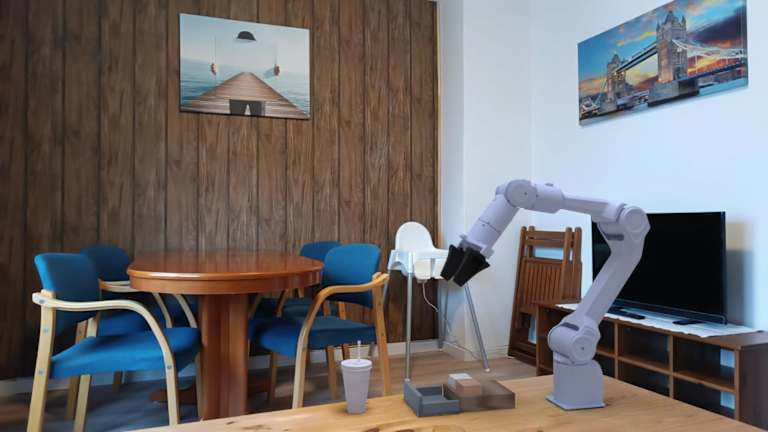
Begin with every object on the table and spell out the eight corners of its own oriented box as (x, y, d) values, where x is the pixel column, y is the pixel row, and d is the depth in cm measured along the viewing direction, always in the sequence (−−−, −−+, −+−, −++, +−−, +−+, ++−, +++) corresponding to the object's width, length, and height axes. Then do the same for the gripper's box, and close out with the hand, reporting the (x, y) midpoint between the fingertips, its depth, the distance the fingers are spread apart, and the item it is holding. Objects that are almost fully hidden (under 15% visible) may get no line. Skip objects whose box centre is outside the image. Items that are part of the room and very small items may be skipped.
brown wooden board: (493, 392, 117) (493, 379, 117) (515, 407, 108) (515, 393, 108) (443, 396, 115) (443, 383, 115) (460, 412, 105) (460, 397, 105)
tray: (441, 396, 115) (441, 377, 115) (459, 413, 104) (459, 393, 104) (403, 399, 113) (403, 380, 113) (418, 417, 102) (418, 396, 102)
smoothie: (368, 417, 102) (368, 345, 103) (336, 414, 104) (336, 343, 104) (375, 406, 109) (375, 338, 109) (345, 404, 110) (345, 337, 110)
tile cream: (465, 382, 115) (465, 373, 115) (473, 387, 111) (472, 378, 111) (448, 383, 114) (448, 374, 114) (455, 389, 110) (455, 379, 110)
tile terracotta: (474, 388, 111) (474, 379, 111) (481, 394, 107) (481, 384, 107) (456, 390, 110) (456, 380, 110) (463, 396, 106) (463, 386, 106)
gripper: (461, 215, 115) (424, 265, 113) (489, 217, 101) (447, 274, 99) (485, 235, 116) (448, 284, 115) (515, 239, 102) (474, 295, 101)
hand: (449, 281), depth 107 cm, fingers open, 7 cm apart
